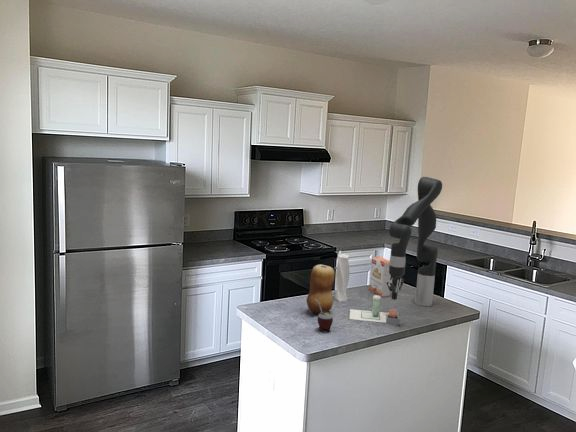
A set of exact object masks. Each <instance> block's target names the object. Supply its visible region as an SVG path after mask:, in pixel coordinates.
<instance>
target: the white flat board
mask: <svg viewBox="0 0 576 432" xmlns="http://www.w3.org/2000/svg"><path fill="white" fill-rule="evenodd" d="M349 320H350V321H360V322H368V323H378V324H389V325H395V326H396V327H400V326H401V323H400V316H399V313H398V312H397V317H396V318H393V317H389V311H388V312H387V311H380V312H379V317H373V314H372V310H367V309H360V308H359V309H358V308H357V309H356V308H348V321H349Z"/></svg>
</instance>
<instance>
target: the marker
mask: <svg viewBox="0 0 576 432" xmlns="http://www.w3.org/2000/svg"><path fill="white" fill-rule="evenodd" d="M381 300H382V297H381V296H379V295H378V294H375V295H373V297H372V307H371V308H372V310H371V311H372V314H373V317H379V312H381V311H380V310H381Z"/></svg>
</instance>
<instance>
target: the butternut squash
mask: <svg viewBox="0 0 576 432" xmlns="http://www.w3.org/2000/svg"><path fill="white" fill-rule="evenodd" d="M335 277H336V274H335V270H334V268H333V267H331V266H329V265H325V264H316V265H314V266H313V267H312V269H311V274H310V282H309V291H308V294H307V297H306V300H305V302H306V304H307V305H306V306H307V307H308V309H309V310H310V311H311V312H312V313H313V314H316V315H317V314H318V315H319V314H320V313H321V310H320V307H319V304H318V302H319V303H320V306H321V309H322V312H329V311H330V310H332V307H333V304H334V296H333V292H332V291H333V290H332V289H333V286H334V283H335ZM314 299H315V300H317V301H318V302H316V301H315V300H314Z"/></svg>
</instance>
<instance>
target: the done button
mask: <svg viewBox="0 0 576 432" xmlns="http://www.w3.org/2000/svg"><path fill="white" fill-rule="evenodd" d="M388 312H389V317H393V318H396V317H397V313H398V309H395V308H389V310H388Z"/></svg>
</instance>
